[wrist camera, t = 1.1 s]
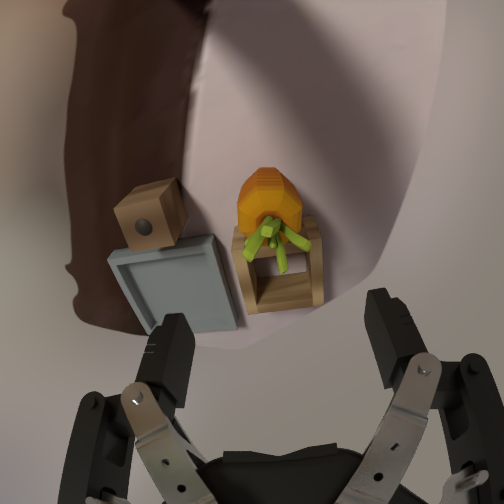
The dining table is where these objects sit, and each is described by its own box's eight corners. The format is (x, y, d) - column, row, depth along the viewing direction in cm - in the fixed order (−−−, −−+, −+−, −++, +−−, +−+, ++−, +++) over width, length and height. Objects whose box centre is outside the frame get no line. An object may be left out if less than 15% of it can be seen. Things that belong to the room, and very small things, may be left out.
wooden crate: (234, 226, 32) (231, 250, 28) (312, 215, 31) (321, 238, 27) (249, 287, 37) (247, 314, 33) (317, 278, 36) (323, 305, 32)
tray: (113, 250, 34) (107, 259, 32) (213, 233, 32) (211, 243, 31) (151, 324, 41) (148, 334, 40) (238, 318, 40) (237, 329, 38)
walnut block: (136, 186, 29) (113, 209, 24) (176, 176, 29) (158, 198, 24) (149, 224, 32) (130, 252, 27) (187, 217, 31) (174, 245, 26)
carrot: (297, 162, 28) (332, 233, 15) (278, 202, 30) (293, 296, 18) (252, 144, 27) (247, 200, 14) (235, 186, 29) (217, 273, 17)
